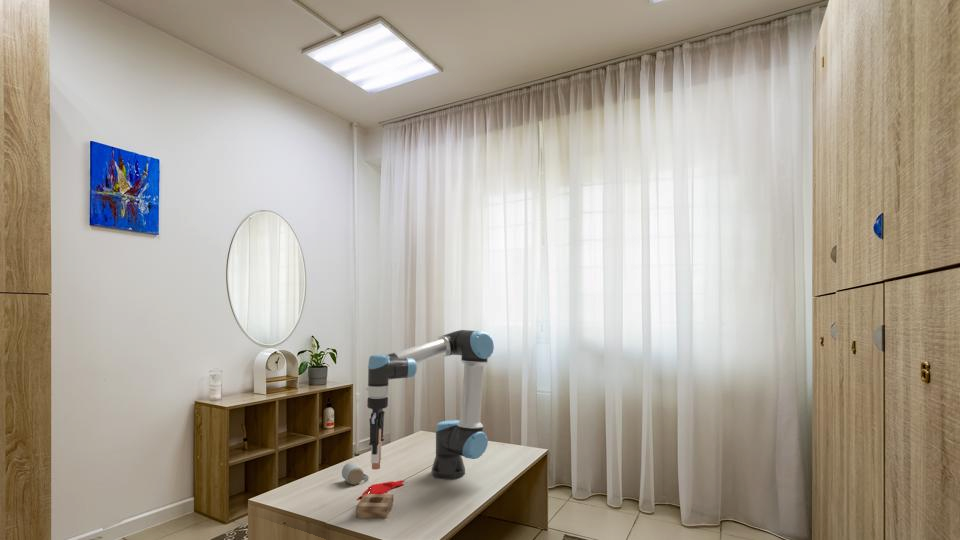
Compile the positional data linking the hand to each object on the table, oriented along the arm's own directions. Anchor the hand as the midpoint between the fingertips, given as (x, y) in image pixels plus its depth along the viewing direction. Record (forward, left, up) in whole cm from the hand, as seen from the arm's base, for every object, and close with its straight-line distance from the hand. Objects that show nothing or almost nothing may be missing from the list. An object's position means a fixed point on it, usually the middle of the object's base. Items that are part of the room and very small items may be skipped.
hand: (376, 461), depth 177 cm
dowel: (0, 0, -3) cm, 3 cm away
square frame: (0, 0, -18) cm, 18 cm away
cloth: (+3, -21, -19) cm, 28 cm away
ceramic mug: (+16, -29, -18) cm, 38 cm away
